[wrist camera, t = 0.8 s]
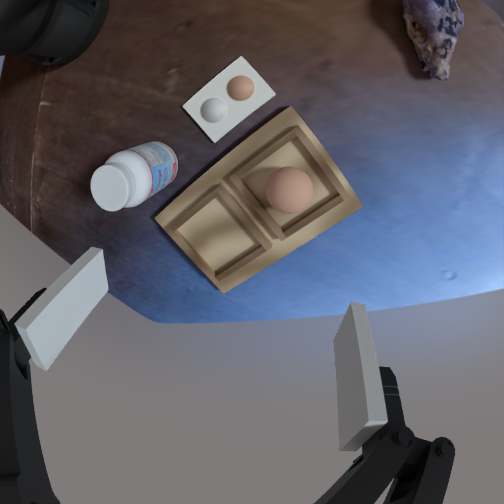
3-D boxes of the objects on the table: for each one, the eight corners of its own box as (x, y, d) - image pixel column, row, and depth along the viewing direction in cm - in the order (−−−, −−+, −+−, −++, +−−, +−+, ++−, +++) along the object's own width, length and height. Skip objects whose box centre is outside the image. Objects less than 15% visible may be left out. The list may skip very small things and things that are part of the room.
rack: (158, 215, 38) (150, 221, 36) (291, 105, 30) (290, 105, 28) (225, 288, 42) (221, 297, 40) (361, 202, 33) (365, 209, 32)
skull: (451, 87, 25) (477, 87, 19) (395, 69, 25) (414, 63, 20) (451, 6, 19) (474, -6, 14) (396, -14, 20) (412, -32, 14)
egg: (259, 179, 33) (252, 191, 29) (294, 153, 31) (293, 161, 27) (285, 213, 34) (283, 230, 30) (321, 189, 32) (324, 203, 28)
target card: (183, 106, 31) (181, 106, 31) (241, 56, 27) (241, 55, 27) (215, 142, 33) (214, 143, 32) (276, 94, 29) (275, 94, 29)
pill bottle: (161, 195, 37) (116, 230, 27) (129, 165, 36) (76, 191, 26) (189, 161, 34) (146, 187, 25) (154, 130, 33) (101, 145, 23)
